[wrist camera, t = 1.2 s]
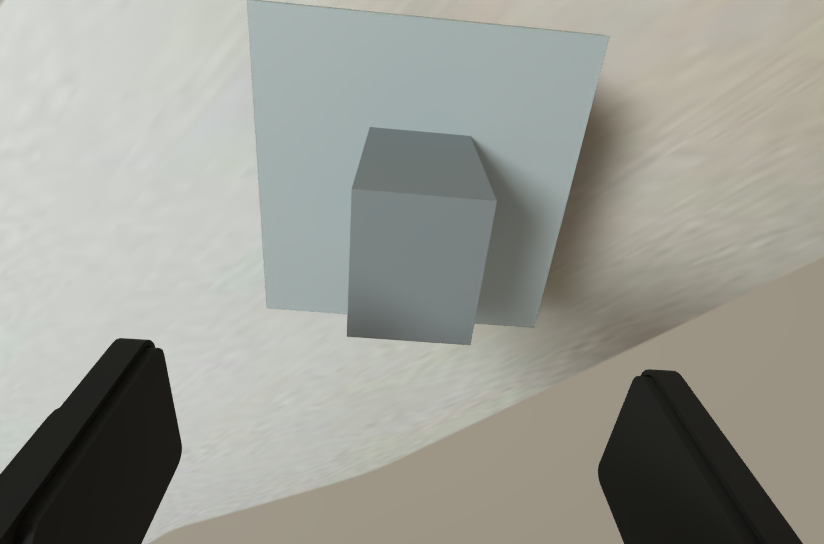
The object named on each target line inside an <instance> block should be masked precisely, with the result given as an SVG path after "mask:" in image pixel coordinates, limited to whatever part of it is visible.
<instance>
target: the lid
mask: <svg viewBox="0 0 824 544" xmlns="http://www.w3.org/2000/svg"><path fill="white" fill-rule="evenodd" d="M247 10H248V26H249V41H250V57H251V72H252V88H253V103H254V119H255V134H256V150H257V166H258V181H259V197H260V212H261V228H262V243H263V259H264V274H265V290H266V306H267V308H269V309H283V310H296V311H310V312H324V313H338V314H348V318H347V337H361V338H376V339H390V340H404V341H418V342H432V343H447V344H461V345H470V344H471V339H472V333H473V328H474V323H476V324H490V325H503V326H517V327H531V328H534V327H535V324H536V320H537V316H538V312H539V308H540V304H541V300H542V296H543V293H544V289H545V285H546V281H547V277H548V273H549V269H550V266H551V262H552V258H553V254H554V250H555V246H556V242H557V238H558V235H559V231H560V227H561V223H562V219H563V215H564V211H565V208H566V204H567V200H568V196H569V192H570V188H571V184H572V180H573V177H574V173H575V169H576V165H577V161H578V157H579V153H580V150H581V146H582V142H583V138H584V134H585V130H586V126H587V122H588V119H589V115H590V111H591V107H592V103H593V99H594V95H595V91H596V88H597V84H598V80H599V76H600V72H601V68H602V64H603V61H604V57H605V53H606V49H607V45H608V41H609V36H605V35H599V34H589V33H580V32H570V31H560V30H550V29H540V28H530V27H520V26H510V25H500V24H490V23H480V22H470V21H460V20H451V19H441V18H431V17H421V16H411V15H401V14H391V13H381V12H371V11H361V10H351V9H341V8H331V7H322V6H312V5H302V4H292V3H282V2H272V1H262V0H247Z"/></svg>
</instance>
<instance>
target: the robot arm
mask: <svg viewBox="0 0 824 544" xmlns="http://www.w3.org/2000/svg"><path fill="white" fill-rule="evenodd" d="M181 452H182V444H181V439H180V434H179V429H178V423H177V418H176V413H175V408H174V403H173V398H172V393H171V387H170V382H169V377H168V372H167V367H166V362H165V357H164V353H163V350H162V349H160V348H155V345H154V343H153V342H152V341H150V340H141V339H124V338H119V339H116V340H115V341H114V342H113V343H112V344H111V346H110V347H109V348H108V349H107V350H106V352H105V353H104V354H103V355H102V357H101V358H100V359H99V360H98V361H97V363H96V364H95V365H94V366H93V368H92V369H91V370H90V371H89V373H88V374H87V375H86V376H85V377H84V379H83V380H82V381H81V382H80V384H79V385H78V386H77V387H76V388H75V390H74V391H73V392H72V393H71V395H70V396H69V397H68V398H67V399H66V401H65V402H64V403H63V404H62V406H61V407H60V408H58V409H56V410H55V411H53V412H52V413H51V414H50V415H49V416H48V417H47V419H46V420H45V421H44V422H43V423H42V425H41V426H40V427H39V428H38V429H37V431H36V432H35V433H34V434H33V435H32V437H31V438H30V439H29V440H28V442H27V443H26V444H25V445H24V446H23V448H22V449H21V450H20V451H19V452H18V454H17V455H16V456H15V457H14V458H13V460H12V461H11V462H10V463H9V465H8V466H7V467H6V468H5V469H4V471H3V472H2V473H1V474H0V544H141V543H142V541H143V539H144V537H145V535H146V532H147V530H148V528H149V526H150V524H151V522H152V520H153V518H154V515H155V513H156V511H157V509H158V507H159V505H160V503H161V500H162V498H163V496H164V494H165V492H166V490H167V488H168V486H169V483H170V481H171V479H172V477H173V475H174V473H175V471H176V469H177V466H178V464H179V461H180V458H181ZM598 476H599V481H600V485H601V487H602V490H603V492H604V494H605V497H606V499H607V502H608V504H609V507H610V509H611V512H612V514H613V517H614V519H615V522H616V524H617V527H618V529H619V532H620V534H621V537H622V539H623V542H624V544H803V543H802V542H801V540H800V539H799V538H798V536H797V535H796V534H795V532H794V531H793V529H792V528H791V527H790V525H789V524H788V522H787V521H786V520H785V518H784V517H783V516H782V514H781V513H780V511H779V510H778V509H777V507H776V506H775V504H774V503H773V502H772V501H771V499H770V498H769V496H768V495H767V493H766V492H765V491H764V489H763V488H762V487H761V485H760V484H759V482H758V481H757V480H756V478H755V477H754V476H753V474H752V473H751V471H750V470H749V469H748V467H747V466H746V464H745V463H744V462H743V460H742V459H741V458H740V456H739V455H738V453H737V452H736V451H735V449H734V448H733V447H732V445H731V444H730V442H729V441H728V440H727V438H726V437H725V435H724V434H723V433H722V431H721V430H720V429H719V427H718V426H717V424H716V423H715V422H714V420H713V419H712V417H711V416H710V415H709V413H708V412H707V411H706V409H705V408H704V406H703V405H702V404H701V402H700V401H699V400H698V398H697V397H696V395H695V394H694V393H693V391H692V390H691V388H690V387H689V386H688V384H687V383H686V382H685V380H684V379H683V378H682V376H681V375H680V374H679V373H678V372H675V371H665V370H645V371H644V372H642V375H641V376H636V377H635V378H634V379H633V381H632V384H631V386H630V389H629V391H628V394H627V396H626V399H625V401H624V403H623V406H622V408H621V411H620V413H619V416H618V418H617V421H616V424H615V426H614V429H613V431H612V434H611V436H610V439H609V441H608V443H607V446H606V448H605V451H604V453H603V456H602V459H601V461H600V463H599V467H598Z"/></svg>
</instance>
